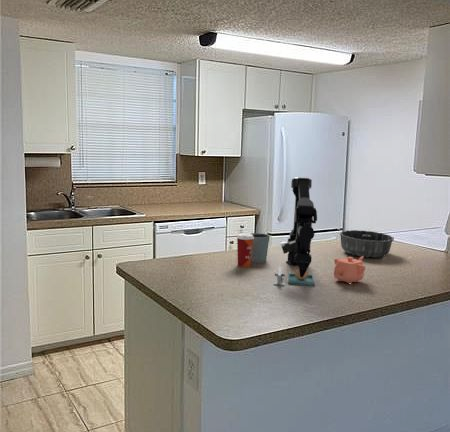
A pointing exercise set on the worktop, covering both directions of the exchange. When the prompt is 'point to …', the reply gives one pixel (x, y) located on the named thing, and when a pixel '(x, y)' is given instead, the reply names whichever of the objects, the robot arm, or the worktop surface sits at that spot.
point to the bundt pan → (366, 243)
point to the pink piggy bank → (349, 269)
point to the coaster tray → (294, 280)
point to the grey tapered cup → (259, 247)
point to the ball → (297, 274)
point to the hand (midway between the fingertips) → (301, 273)
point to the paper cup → (244, 249)
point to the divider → (279, 276)
